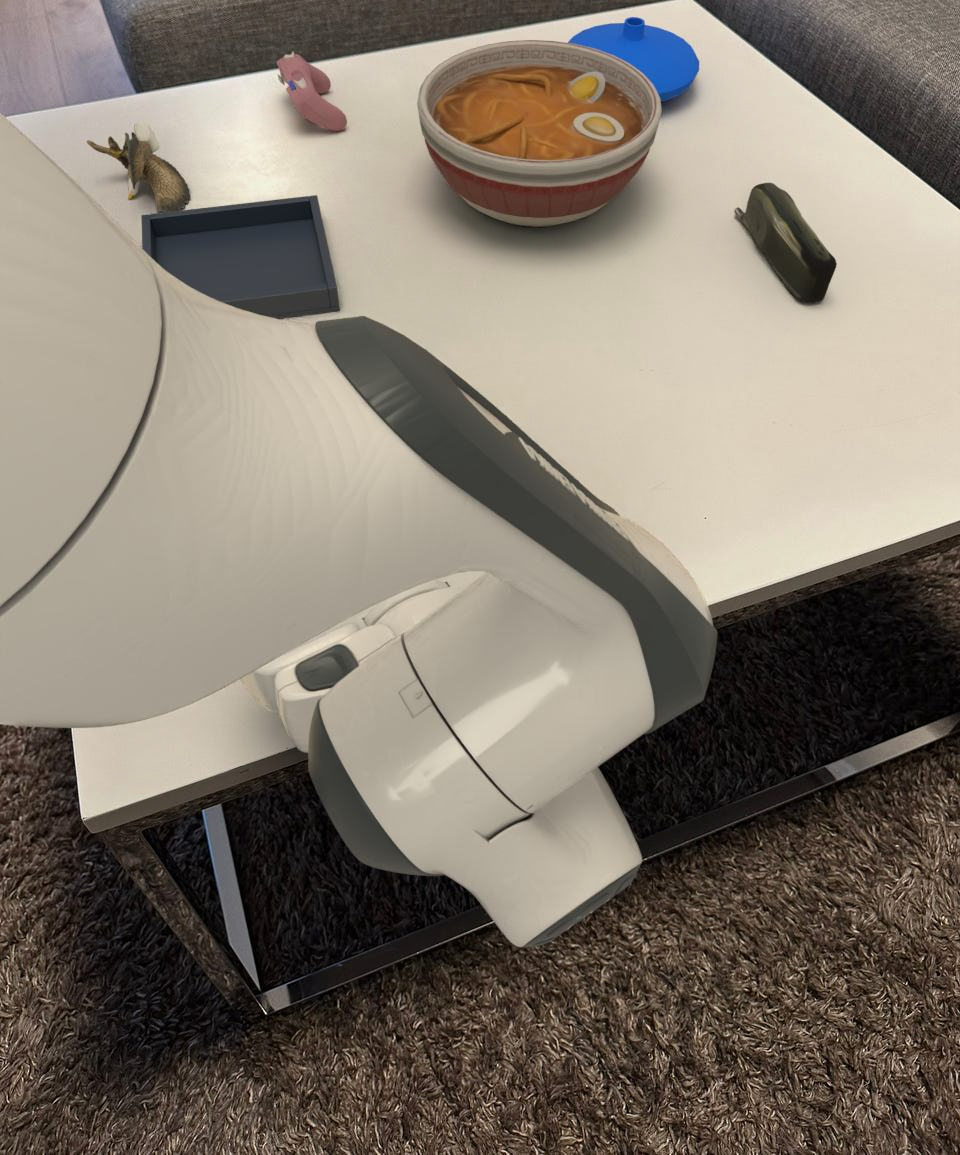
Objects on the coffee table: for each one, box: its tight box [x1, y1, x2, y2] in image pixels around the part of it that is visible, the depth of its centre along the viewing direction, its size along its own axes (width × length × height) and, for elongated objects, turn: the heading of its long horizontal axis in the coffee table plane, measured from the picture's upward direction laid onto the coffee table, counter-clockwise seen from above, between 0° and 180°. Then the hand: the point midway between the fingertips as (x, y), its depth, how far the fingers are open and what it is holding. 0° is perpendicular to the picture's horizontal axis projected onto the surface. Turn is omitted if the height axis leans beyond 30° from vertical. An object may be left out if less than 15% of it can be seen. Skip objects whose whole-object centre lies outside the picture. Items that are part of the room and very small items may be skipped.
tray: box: [141, 194, 341, 319], centre depth 88 cm, size 17×15×2 cm
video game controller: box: [276, 51, 348, 132], centre depth 104 cm, size 10×5×7 cm, turn 17°
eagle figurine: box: [86, 122, 191, 213], centre depth 94 cm, size 8×7×9 cm
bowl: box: [416, 39, 663, 228], centre depth 93 cm, size 23×23×10 cm
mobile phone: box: [733, 182, 838, 304], centre depth 90 cm, size 5×3×15 cm
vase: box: [567, 16, 700, 102], centre depth 108 cm, size 16×16×7 cm
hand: (332, 496), depth 61 cm, fingers open, 8 cm apart
